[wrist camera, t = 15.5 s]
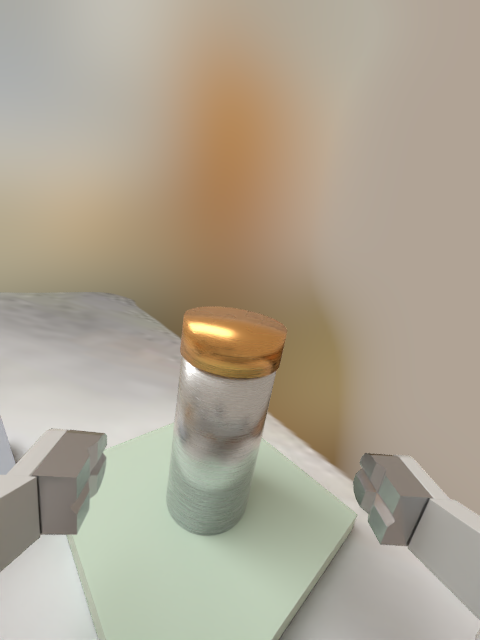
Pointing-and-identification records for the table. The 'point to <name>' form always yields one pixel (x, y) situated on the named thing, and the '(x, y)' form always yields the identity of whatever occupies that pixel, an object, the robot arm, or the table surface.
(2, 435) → the cover plate
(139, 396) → the table surface
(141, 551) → the pad
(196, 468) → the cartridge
